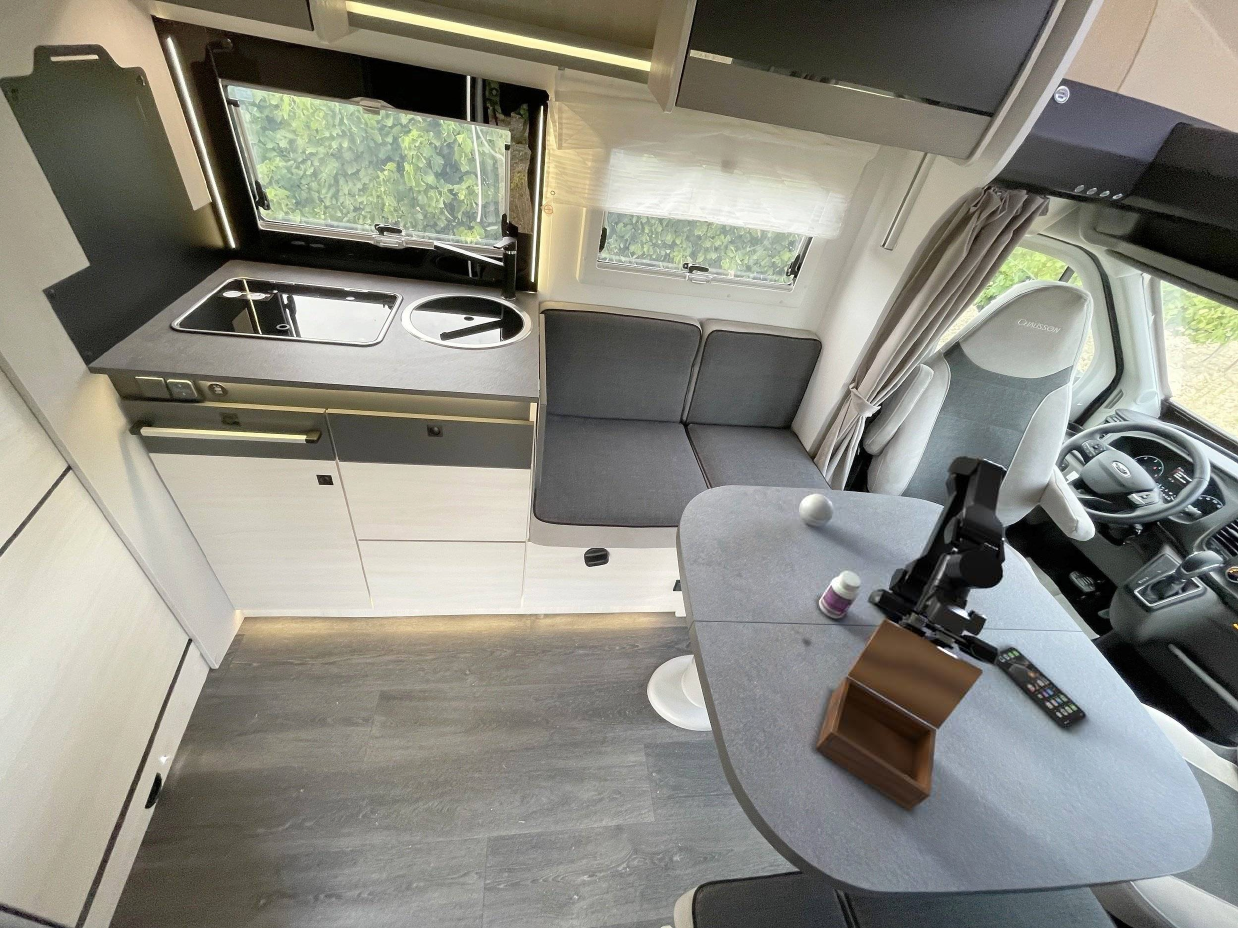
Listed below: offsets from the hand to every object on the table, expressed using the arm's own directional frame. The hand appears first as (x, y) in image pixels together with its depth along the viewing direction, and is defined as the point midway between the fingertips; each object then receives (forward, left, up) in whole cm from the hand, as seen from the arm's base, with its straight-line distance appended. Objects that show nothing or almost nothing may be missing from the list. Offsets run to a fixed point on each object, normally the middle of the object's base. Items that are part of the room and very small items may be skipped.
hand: (907, 671), depth 81 cm
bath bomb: (-21, -42, -11) cm, 48 cm away
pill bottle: (-7, -19, -11) cm, 23 cm away
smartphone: (-36, +8, -11) cm, 38 cm away
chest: (+7, +5, -11) cm, 14 cm away
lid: (+1, +1, +2) cm, 2 cm away
